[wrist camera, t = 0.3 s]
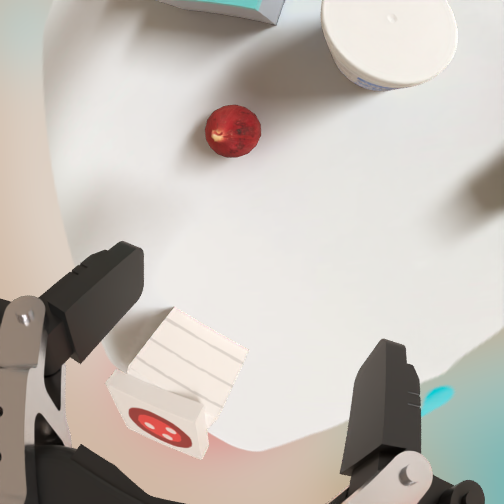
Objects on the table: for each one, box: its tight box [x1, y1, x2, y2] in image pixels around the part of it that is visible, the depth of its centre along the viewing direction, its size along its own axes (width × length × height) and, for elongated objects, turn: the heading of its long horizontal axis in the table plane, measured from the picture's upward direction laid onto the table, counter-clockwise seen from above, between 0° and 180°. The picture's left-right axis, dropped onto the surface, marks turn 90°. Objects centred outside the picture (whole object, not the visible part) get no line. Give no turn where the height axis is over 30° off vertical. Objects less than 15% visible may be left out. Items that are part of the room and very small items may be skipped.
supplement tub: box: [321, 0, 458, 91], centre depth 20 cm, size 10×10×15 cm
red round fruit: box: [205, 105, 261, 157], centre depth 32 cm, size 6×6×8 cm
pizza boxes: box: [106, 307, 249, 460], centre depth 52 cm, size 19×30×18 cm, turn 155°
